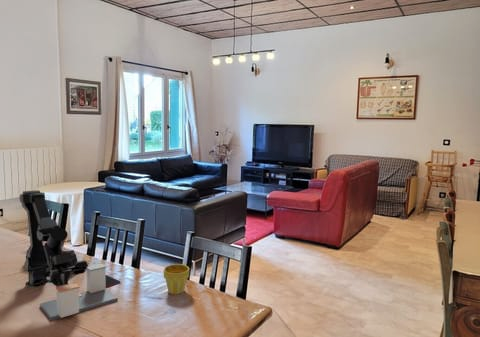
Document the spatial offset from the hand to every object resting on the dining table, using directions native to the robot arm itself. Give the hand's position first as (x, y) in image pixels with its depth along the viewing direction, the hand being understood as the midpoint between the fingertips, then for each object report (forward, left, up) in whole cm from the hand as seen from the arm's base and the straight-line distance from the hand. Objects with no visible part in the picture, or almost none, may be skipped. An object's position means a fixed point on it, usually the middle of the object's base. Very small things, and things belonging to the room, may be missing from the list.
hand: (65, 293), depth 133 cm
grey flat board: (-1, +8, -8) cm, 12 cm away
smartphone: (-7, +30, -8) cm, 31 cm away
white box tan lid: (+2, -1, -6) cm, 7 cm away
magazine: (-38, +33, -8) cm, 51 cm away
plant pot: (+27, +32, -8) cm, 43 cm away
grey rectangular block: (-1, +18, -6) cm, 19 cm away
